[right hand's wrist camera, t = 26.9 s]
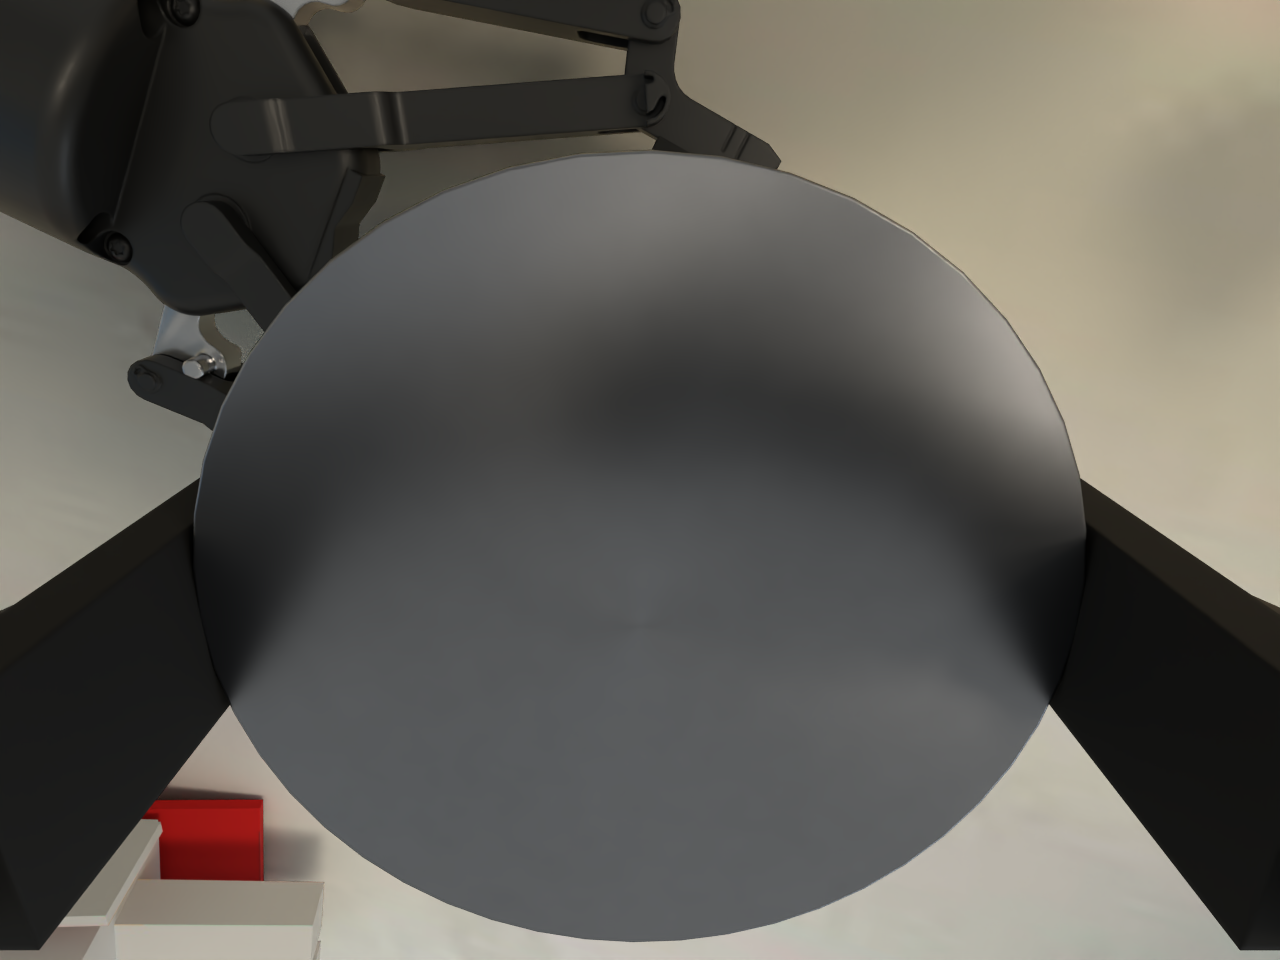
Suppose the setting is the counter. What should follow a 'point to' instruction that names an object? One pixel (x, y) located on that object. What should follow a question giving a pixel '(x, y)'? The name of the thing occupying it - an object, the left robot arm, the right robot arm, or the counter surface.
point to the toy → (189, 894)
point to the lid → (639, 546)
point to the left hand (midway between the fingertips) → (756, 432)
